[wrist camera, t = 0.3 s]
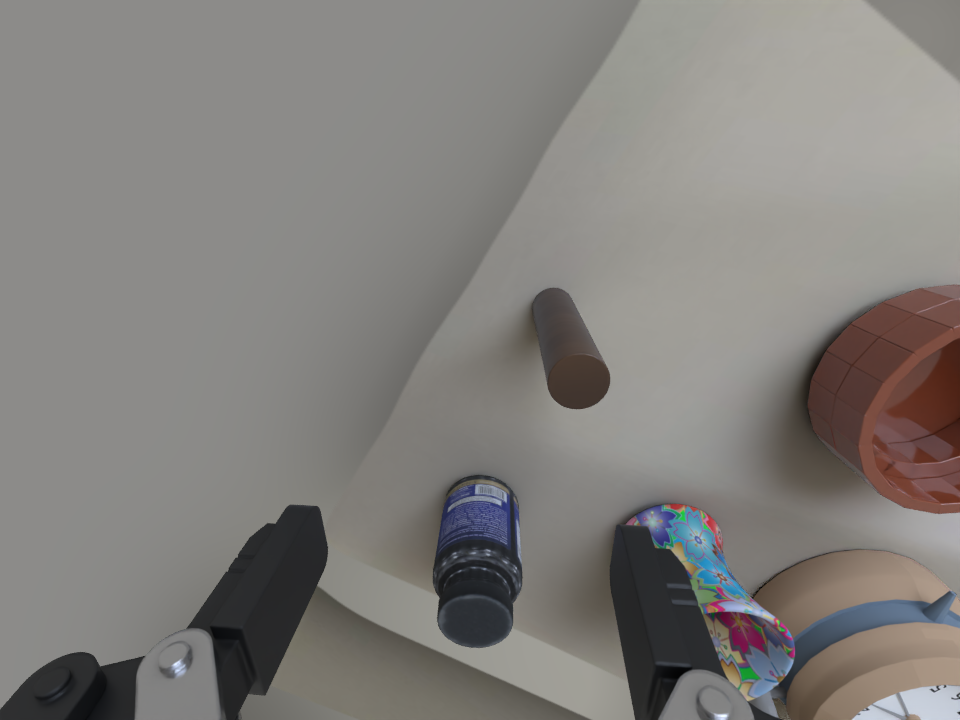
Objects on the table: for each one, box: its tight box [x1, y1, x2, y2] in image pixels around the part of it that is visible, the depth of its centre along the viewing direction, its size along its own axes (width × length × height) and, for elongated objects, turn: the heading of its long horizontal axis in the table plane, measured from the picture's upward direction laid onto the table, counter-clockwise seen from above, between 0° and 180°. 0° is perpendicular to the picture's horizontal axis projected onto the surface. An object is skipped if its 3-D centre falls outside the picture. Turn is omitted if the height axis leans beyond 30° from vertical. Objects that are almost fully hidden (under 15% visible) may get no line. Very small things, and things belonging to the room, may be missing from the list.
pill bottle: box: [433, 475, 522, 648], centre depth 34 cm, size 6×6×11 cm
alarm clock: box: [748, 549, 960, 720], centre depth 39 cm, size 17×9×23 cm
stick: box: [532, 288, 610, 409], centre depth 27 cm, size 3×3×12 cm
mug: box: [625, 504, 795, 701], centre depth 34 cm, size 12×9×11 cm
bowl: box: [807, 285, 960, 514], centre depth 30 cm, size 14×14×6 cm
